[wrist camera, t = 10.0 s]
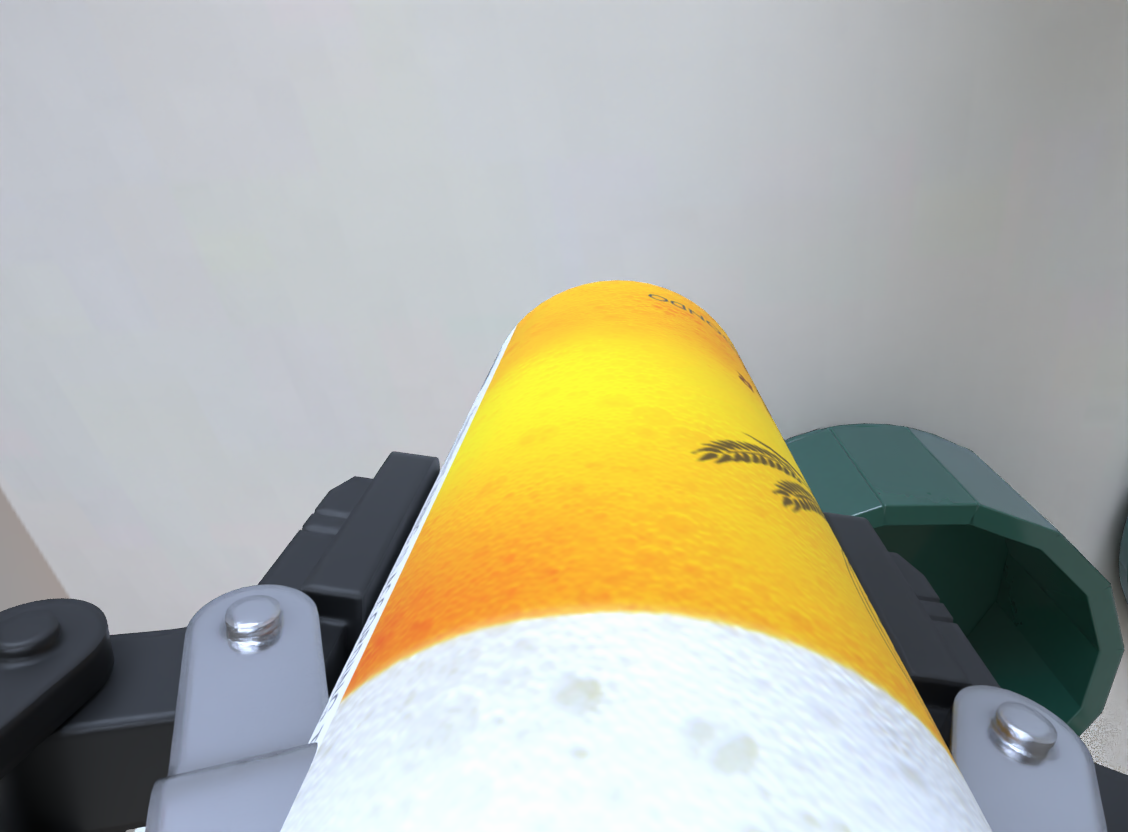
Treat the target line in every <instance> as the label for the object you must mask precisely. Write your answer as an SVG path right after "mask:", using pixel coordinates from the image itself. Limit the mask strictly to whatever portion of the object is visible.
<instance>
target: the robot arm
mask: <svg viewBox="0 0 1128 832" xmlns="http://www.w3.org/2000/svg"><path fill="white" fill-rule="evenodd" d="M439 473H440V465H439V459H438V458H437V457H430V456H423V455H416V454H409V453H402V452H391V453H390V455H389V456H388V458H387V459H386V461H385V462H384V464H383V465H382V467H381V468H380V470H379V471H378V473H377V474H376V476H375V477H374V479H370V478H363V477H356V476H355V477H353V478H351V479H349V480H348V481H346V482H344V483H342V484H341V485H339V486H337V487H335V488H334V489H332V490H330V491H329V492H328V494H327V495H326V496H325V497H324V499H323V500H322V501H321V503H320V504H319V505H318V507H317V508H316V509H315V513H314V514H311V516H310V517H309V518H308V520H307V521H306V522H305V524H304V525H303V528H302V530H299V531H298V533H297V534H296V535H295V537H294V538H293V539H292V541H291V542H290V543H289V545H288V546H287V547H286V548H285V550H284V551H283V552H282V554H281V555H280V556H279V558H278V559H277V560H276V562H275V563H274V564H273V565H272V567H271V568H270V569H269V571H268V572H267V573H266V575H265V576H264V577H263V579H262V580H261V581H260V582H259V584H258V585H254V586H249V587H243V588H240V589H236V590H233V591H230V592H228V593H225V594H223V595H221V596H219V597H217V598H215V599H213V600H212V601H210V602H209V603H207V604H206V605H204V606H203V607H202V608H201V609H200V610H199V611H198V612H197V613H196V614H195V615H194V616H193V618H192V619H191V620H190V622H189V624H188V626H187V627H184V628H178V629H171V630H161V631H150V632H139V633H128V634H118V635H109V630H108V624H107V619H106V617H105V615H104V613H103V612H102V611H101V610H100V609H99V608H98V607H97V606H95V605H93V604H91V603H88V602H85V601H82V600H76V599H62V598H61V599H47V600H40V601H34V602H30V603H26V604H22V605H19V606H16V607H12V608H9V609H7V610H4V611H2V612H0V832H126V830H129V829H135V828H141V827H146V829H145V832H280V831H281V829H282V826H283V824H284V822H285V820H286V818H287V816H288V814H289V812H290V809H291V807H292V805H293V803H294V801H295V799H296V797H297V794H298V792H299V790H300V788H301V786H302V784H303V782H304V779H305V777H306V775H307V773H308V771H309V769H310V766H311V764H312V762H313V759H314V756H315V754H316V751H317V747H318V744H317V742H314V743H310V744H308V743H309V741H310V739H311V736H312V734H313V732H314V730H315V728H316V726H317V724H318V722H319V720H320V718H321V716H322V714H323V712H324V710H325V708H326V706H327V704H328V702H329V697H330V695H331V693H332V691H333V689H334V687H335V685H336V683H337V680H338V678H339V676H340V674H341V672H342V670H343V668H344V666H345V664H346V662H347V660H348V658H349V656H350V654H351V652H352V650H353V648H354V646H355V644H356V642H357V640H358V638H359V636H360V634H361V632H362V630H363V628H364V626H365V624H366V622H367V619H368V617H369V615H370V613H371V611H372V609H373V607H374V605H375V603H376V601H377V599H378V597H379V595H380V593H381V591H382V589H383V587H384V585H385V583H386V581H387V579H388V577H389V575H390V573H391V571H392V569H393V567H394V565H395V563H396V561H397V558H398V556H399V554H400V552H401V550H402V548H403V546H404V544H405V542H406V540H407V538H408V536H409V534H410V532H411V530H412V528H413V526H414V524H415V522H416V520H417V518H418V516H419V514H420V512H421V510H422V508H423V506H424V504H425V502H426V500H427V498H428V495H429V493H430V491H431V489H432V487H433V485H434V483H435V481H436V479H437V477H438V475H439ZM822 513H823V514H824V516H825V518H826V520H827V522H828V524H829V526H830V528H831V529H832V531H833V533H834V535H835V537H836V539H837V541H838V543H839V544H840V546H841V548H842V550H843V552H844V554H845V556H846V558H847V559H848V561H849V563H850V565H851V567H852V569H853V571H854V573H855V574H856V576H857V578H858V580H859V582H860V584H861V586H862V588H863V590H864V591H865V593H866V595H867V597H868V599H869V601H870V603H871V605H872V606H873V608H874V610H875V612H876V614H877V616H878V618H879V620H880V621H881V623H882V625H883V627H884V629H885V631H886V633H887V635H888V636H889V638H890V640H891V642H892V644H893V646H894V648H895V650H896V651H897V653H898V655H899V657H900V659H901V661H902V663H903V665H904V667H905V668H906V670H907V672H908V674H909V676H910V678H911V680H912V682H913V683H914V685H915V687H916V689H917V691H918V693H919V695H920V697H921V698H922V700H923V702H924V704H925V706H926V708H927V710H928V712H929V713H930V715H931V717H932V719H933V721H934V723H935V725H936V727H937V728H938V730H939V732H940V734H941V736H942V738H943V740H944V742H945V744H946V745H947V747H948V749H949V751H950V753H951V755H952V757H953V759H954V760H955V762H956V764H957V766H958V768H959V770H960V772H961V774H962V775H963V777H964V779H965V781H966V783H967V785H968V787H969V789H970V790H971V792H972V794H973V796H974V798H975V800H976V802H977V804H978V805H979V807H980V809H981V811H982V813H983V815H984V817H985V819H986V820H987V822H988V824H989V826H990V828H991V830H992V832H1128V775H1125V774H1123V773H1120V772H1117V771H1115V770H1112V769H1109V768H1107V767H1104V766H1101V765H1099V764H1096V763H1094V762H1093V759H1092V756H1091V754H1090V752H1089V750H1088V748H1087V747H1086V745H1085V744H1084V743H1083V741H1082V740H1081V738H1080V737H1079V736H1078V735H1077V734H1076V733H1075V732H1074V731H1073V730H1072V729H1071V728H1070V727H1069V726H1068V725H1067V724H1066V723H1065V722H1064V721H1062V720H1061V719H1060V718H1059V717H1057V716H1056V715H1055V714H1053V713H1052V712H1050V711H1049V710H1047V709H1046V708H1044V707H1043V706H1041V705H1039V704H1038V703H1036V702H1034V701H1032V700H1030V699H1028V698H1026V697H1024V696H1022V695H1020V694H1017V693H1015V692H1012V691H1009V690H1006V689H1002V688H1001V687H1000V686H999V685H998V683H997V682H996V680H995V679H994V677H993V676H992V674H991V673H990V671H989V670H988V668H987V667H986V666H985V664H984V663H983V661H982V660H981V658H980V657H979V655H978V654H977V652H976V651H975V649H974V648H973V646H972V645H971V644H970V642H969V641H968V639H967V638H966V636H965V635H964V633H963V632H962V630H961V629H960V627H959V626H958V624H956V623H953V617H952V616H951V614H950V613H949V611H948V610H947V608H946V607H945V605H944V604H943V603H940V601H939V600H940V598H939V597H938V595H937V594H936V592H935V591H934V589H933V588H932V586H931V585H930V583H929V582H928V581H927V579H926V578H925V576H924V575H923V574H922V573H921V572H919V571H918V570H917V569H916V568H915V567H913V566H912V565H911V564H910V563H909V562H907V561H906V560H905V559H904V558H902V557H901V556H900V555H899V554H898V553H894V552H888V551H887V549H886V547H885V546H884V544H883V543H882V541H881V540H880V538H879V536H878V535H877V533H876V532H875V530H874V529H873V527H872V525H871V524H870V522H869V521H868V520H867V519H866V518H863V517H856V516H849V515H842V514H835V513H827V512H822Z"/></svg>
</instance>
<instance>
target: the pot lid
mask: <svg viewBox="0 0 1128 832" xmlns="http://www.w3.org/2000/svg"><path fill="white" fill-rule="evenodd" d="M1119 573H1120V582H1121V586H1122V589H1123V592H1124V596H1125V599H1126V602H1127V604H1128V518H1127V520H1126V523H1125V526H1124V530H1123V534H1122V539H1121V543H1120V552H1119Z"/></svg>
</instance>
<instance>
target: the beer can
mask: <svg viewBox="0 0 1128 832" xmlns="http://www.w3.org/2000/svg"><path fill="white" fill-rule="evenodd" d="M314 742H317V744H318V747H317V751H316V754H315V756H314V759H313V762H312V764H311V766H310V769H309V771H308V773H307V775H306V777H305V779H304V782H303V784H302V786H301V788H300V790H299V792H298V794H297V797H296V799H295V801H294V803H293V805H292V807H291V809H290V812H289V814H288V816H287V818H286V820H285V822H284V824H283V826H282V829H281V831H280V832H992V830H991V828H990V826H989V824H988V822H987V820H986V819H985V817H984V815H983V813H982V811H981V809H980V807H979V805H978V804H977V802H976V800H975V798H974V796H973V794H972V792H971V790H970V789H969V787H968V785H967V783H966V781H965V779H964V777H963V775H962V774H961V772H960V770H959V768H958V766H957V764H956V762H955V760H954V759H953V757H952V755H951V753H950V751H949V749H948V747H947V745H946V744H945V742H944V740H943V738H942V736H941V734H940V732H939V730H938V728H937V727H936V725H935V723H934V721H933V719H932V717H931V715H930V713H929V712H928V710H927V708H926V706H925V704H924V702H923V700H922V698H921V697H920V695H919V693H918V691H917V689H916V687H915V685H914V683H913V682H912V680H911V678H910V676H909V674H908V672H907V670H906V668H905V667H904V665H903V663H902V661H901V659H900V657H899V655H898V653H897V651H896V650H895V648H894V646H893V644H892V642H891V640H890V638H889V636H888V635H887V633H886V631H885V629H884V627H883V625H882V623H881V621H880V620H879V618H878V616H877V614H876V612H875V610H874V608H873V606H872V605H871V603H870V601H869V599H868V597H867V595H866V593H865V591H864V590H863V588H862V586H861V584H860V582H859V580H858V578H857V576H856V574H855V573H854V571H853V569H852V567H851V565H850V563H849V561H848V559H847V558H846V556H845V554H844V552H843V550H842V548H841V546H840V544H839V543H838V541H837V539H836V537H835V535H834V533H833V531H832V529H831V528H830V526H829V524H828V522H827V520H826V518H825V516H824V514H823V513H822V511H821V509H820V507H819V505H818V503H817V501H816V499H815V498H814V496H813V494H812V492H811V490H810V488H809V486H808V484H807V482H806V481H805V479H804V477H803V475H802V473H801V471H800V469H799V467H798V466H797V464H796V462H795V460H794V458H793V456H792V454H791V452H790V451H789V449H788V447H787V445H786V443H785V441H784V439H783V437H782V436H781V434H780V432H779V430H778V428H777V426H776V424H775V422H774V421H773V419H772V417H771V415H770V413H769V411H768V409H767V407H766V405H765V404H764V402H763V400H762V398H761V396H760V394H759V392H758V390H757V389H756V387H755V385H754V383H753V381H752V379H751V377H750V375H749V374H748V372H747V370H746V368H745V366H744V364H743V362H742V360H741V359H740V357H739V355H738V353H737V351H736V349H735V347H734V345H733V344H732V342H731V341H730V339H729V337H728V336H727V334H726V333H725V332H724V330H723V329H722V328H721V327H720V326H719V324H718V323H717V322H716V321H715V320H714V319H713V318H712V317H711V316H710V315H709V314H708V313H707V312H706V311H705V310H703V309H702V308H700V307H699V306H698V305H696V304H695V303H694V302H692V301H691V300H689V299H687V298H685V297H683V296H682V295H680V294H678V293H675V292H673V291H671V290H668V289H666V288H663V287H660V286H656V285H652V284H649V283H643V282H637V281H627V280H610V281H598V282H593V283H588V284H583V285H580V286H577V287H574V288H571V289H568V290H566V291H563V292H561V293H559V294H557V295H554V296H553V297H551V298H549V299H548V300H546V301H544V302H543V303H541V304H540V305H538V306H537V307H536V308H535V309H533V310H532V311H531V312H529V313H528V314H527V315H526V316H525V317H524V318H523V319H522V320H521V321H520V322H519V323H518V324H517V325H516V327H515V328H514V329H513V331H512V332H511V333H510V334H509V336H508V337H507V339H506V341H505V342H504V344H503V346H502V347H501V349H500V351H499V353H498V355H497V357H496V359H495V361H494V363H493V365H492V367H491V369H490V371H489V374H488V376H487V378H486V380H485V382H484V384H483V386H482V388H481V390H480V392H479V394H478V396H477V398H476V400H475V402H474V404H473V406H472V408H471V410H470V412H469V414H468V416H467V418H466V420H465V422H464V424H463V426H462V428H461V430H460V432H459V434H458V437H457V439H456V441H455V443H454V445H453V447H452V449H451V451H450V453H449V455H448V457H447V459H446V461H445V463H444V465H443V467H442V469H441V471H440V473H439V475H438V477H437V479H436V481H435V483H434V485H433V487H432V489H431V491H430V493H429V495H428V498H427V500H426V502H425V504H424V506H423V508H422V510H421V512H420V514H419V516H418V518H417V520H416V522H415V524H414V526H413V528H412V530H411V532H410V534H409V536H408V538H407V540H406V542H405V544H404V546H403V548H402V550H401V552H400V554H399V556H398V558H397V561H396V563H395V565H394V567H393V569H392V571H391V573H390V575H389V577H388V579H387V581H386V583H385V585H384V587H383V589H382V591H381V593H380V595H379V597H378V599H377V601H376V603H375V605H374V607H373V609H372V611H371V613H370V615H369V617H368V619H367V622H366V624H365V626H364V628H363V630H362V632H361V634H360V636H359V638H358V640H357V642H356V644H355V646H354V648H353V650H352V652H351V654H350V656H349V658H348V660H347V662H346V664H345V666H344V668H343V670H342V672H341V674H340V676H339V678H338V680H337V683H336V685H335V687H334V689H333V691H332V693H331V695H330V697H329V702H328V704H327V706H326V708H325V710H324V712H323V714H322V716H321V718H320V720H319V722H318V724H317V726H316V728H315V730H314V732H313V734H312V736H311V739H310V741H309V743H308V744H310V743H314Z"/></svg>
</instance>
